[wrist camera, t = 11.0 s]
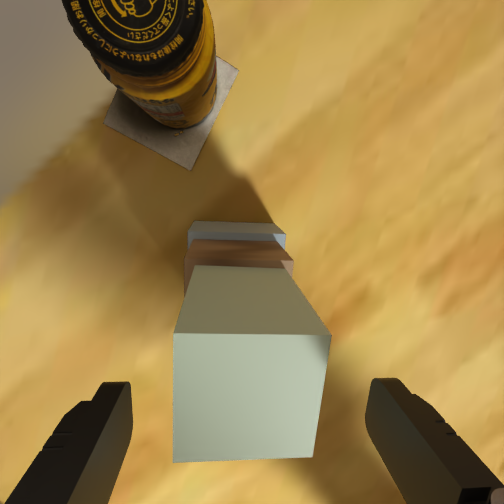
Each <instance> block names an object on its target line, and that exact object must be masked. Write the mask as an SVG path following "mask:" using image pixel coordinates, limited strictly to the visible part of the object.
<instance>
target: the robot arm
mask: <svg viewBox="0 0 504 504" xmlns="http://www.w3.org/2000/svg"><path fill="white" fill-rule="evenodd" d="M365 423H366V428H367V431H368V434H369V436H370V438H371V440H372V442H373V444H374V445H375V447H376V449H377V451H378V453H379V454H380V456H381V458H382V460H383V462H384V463H385V465H386V467H387V469H388V471H389V472H390V474H391V476H392V478H393V480H394V481H395V483H396V485H397V487H398V489H399V490H400V492H401V494H402V496H403V498H404V499H405V501H406V503H407V504H504V485H503V484H502V483H501V482H500V480H499V479H498V478H497V477H496V476H495V475H494V474H493V473H492V472H491V471H490V469H489V468H488V467H487V466H486V465H485V464H484V463H483V462H482V461H481V459H480V458H479V457H478V456H477V455H476V454H475V453H474V452H473V451H472V450H471V448H470V447H469V446H468V445H467V444H466V443H465V442H464V441H463V440H462V438H461V437H460V436H457V435H456V432H455V431H454V430H453V428H452V427H451V426H450V425H449V424H448V423H446V422H445V420H444V419H443V417H442V416H441V415H440V414H439V413H438V412H437V411H436V410H435V409H434V407H433V406H432V405H430V404H429V403H427V402H426V401H424V400H423V399H422V398H420V397H419V396H417V395H416V394H411V392H410V391H409V390H408V389H407V388H406V387H405V385H404V384H403V383H402V382H401V381H400V380H399V379H397V378H374V379H373V380H372V382H371V386H370V391H369V397H368V402H367V408H366V413H365ZM132 429H133V414H132V398H131V385H130V383H129V382H103V383H102V384H101V385H100V387H99V389H98V390H97V392H96V394H95V395H94V397H93V399H92V400H91V401H81V402H79V403H78V404H77V405H76V406H75V407H74V408H72V409H71V410H70V411H69V412H68V413H66V414H65V415H64V417H63V418H62V419H61V421H60V422H59V424H58V425H57V427H56V428H55V430H54V431H53V434H52V436H50V437H49V439H48V440H47V442H46V443H45V445H44V446H43V449H42V451H40V452H39V453H38V455H37V456H36V458H35V459H34V461H33V462H32V464H31V465H30V467H29V468H28V470H27V471H26V473H25V474H24V476H23V477H22V478H21V480H20V481H19V483H18V484H17V486H16V487H15V489H14V490H13V492H12V493H11V495H10V496H9V498H8V499H7V501H6V502H5V504H108V502H109V499H110V496H111V494H112V491H113V488H114V485H115V483H116V480H117V477H118V474H119V471H120V469H121V466H122V463H123V460H124V458H125V455H126V452H127V449H128V447H129V444H130V440H131V435H132Z"/></svg>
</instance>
